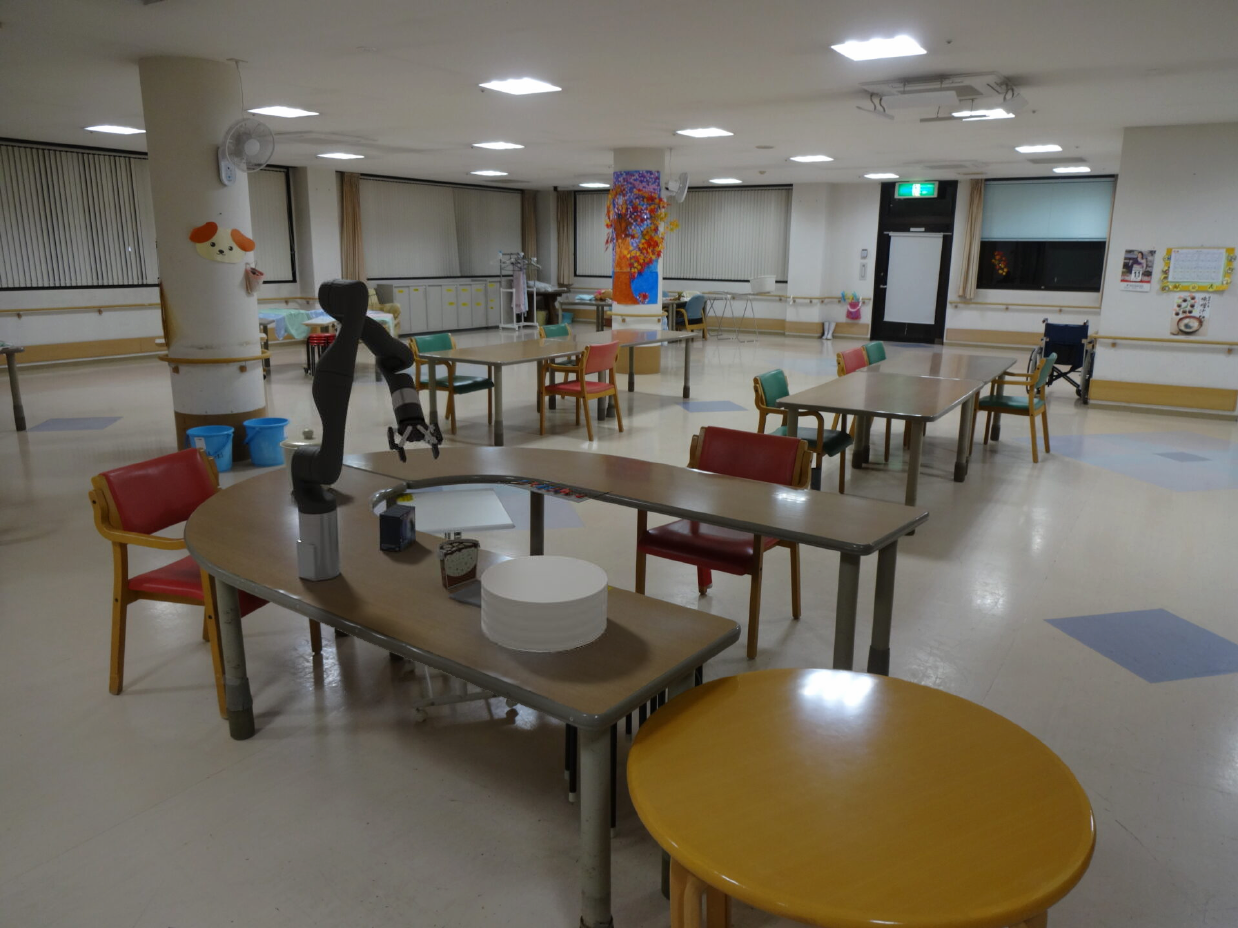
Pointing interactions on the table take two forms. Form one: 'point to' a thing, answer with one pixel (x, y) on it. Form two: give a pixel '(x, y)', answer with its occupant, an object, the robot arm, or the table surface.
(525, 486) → the gear board
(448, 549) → the cake slice
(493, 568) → the plate stack
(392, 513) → the small box
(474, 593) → the rubber mat
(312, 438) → the canister
